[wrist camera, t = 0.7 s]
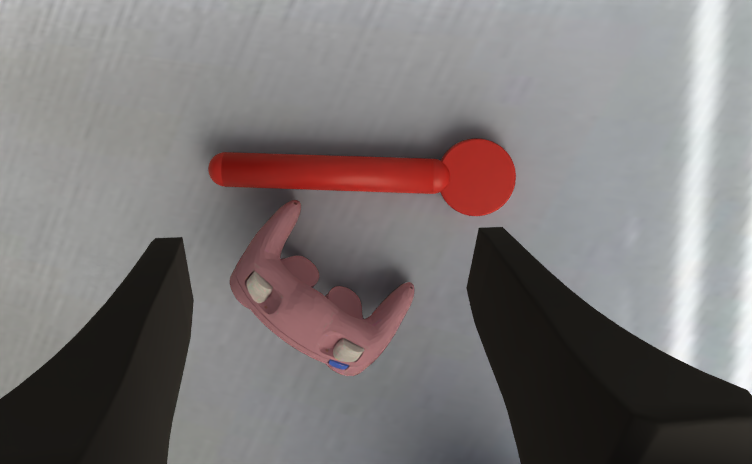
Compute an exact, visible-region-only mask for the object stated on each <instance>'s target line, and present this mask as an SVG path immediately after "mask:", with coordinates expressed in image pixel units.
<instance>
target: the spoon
mask: <svg viewBox="0 0 752 464" xmlns="http://www.w3.org/2000/svg"><path fill="white" fill-rule="evenodd" d="M208 171H209V175H210V177H211V179H212V180H213V181H214V182H215V183H216V184H218V185H220V186H225V187H250V188H279V189H308V190H337V191H366V192H395V193H424V194H435V193H439V192H441V194H442V196H443V198H444V200H445V201H446V202H447V204H448V205H449V206H451V207H452V208H453V209H454V210H456V211H458V212H460V213H462V214H465V215H469V216H482V215H487V214H490V213H492V212H494V211H496V210H498V209H499V208H500V207H502V206H503V205H504V204H505V203H506V202H507V200H508V199H509V198H510V196H511V194H512V192H513V189H514V186H515V180H516V173H515V167H514V164H513V161H512V159H511V157H510V156H509V154H508V153H507V152H506V151H505V150H504V149H503V148H502V147H501V146H499V145H498V144H496V143H494V142H492V141H489V140H485V139H478V138H475V139H467V140H463V141H461V142H459V143H457V144H455V145H454V146H452V147H451V148H450V149H449V150H448V151H447V152H446V153H445V154H444V156H443V157H442V159H441V161H440V160H438V159H425V158H393V157H362V156H330V155H298V154H267V153H235V152H222V153H219V154H217V155H215V156H214V157H213V158H212V159H211V161H210V163H209V167H208Z"/></svg>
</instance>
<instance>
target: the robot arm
mask: <svg viewBox="0 0 752 464" xmlns="http://www.w3.org/2000/svg"><path fill="white" fill-rule="evenodd" d="M467 292H468V297H469V301H470V306H471V310H472V314H473V318H474V322H475V325H476V328H477V331H478V333H479V336H480V339H481V341H482V344H483V347H484V349H485V352H486V355H487V357H488V360H489V362H490V365H491V368H492V370H493V373H494V375H495V378H496V381H497V383H498V386H499V388H500V391H501V394H502V396H503V399H504V402H505V405H506V408H507V411H508V415H509V419H510V423H511V426H512V430H513V434H514V438H515V442H516V445H517V449H518V454H519V458H520V462H521V464H752V395H751V394H750V393H749V391H748V390H746V389H743V388H741V387H738V386H736V385H734V384H731V383H729V382H726V381H724V380H722V379H719V378H717V377H714V376H712V375H710V374H707V373H705V372H703V371H700V370H698V369H696V368H694V367H692V366H690V365H688V364H686V363H684V362H682V361H680V360H678V359H676V358H674V357H672V356H670V355H668V354H666V353H664V352H662V351H661V350H659V349H657V348H655V347H653V346H652V345H650V344H648V343H647V342H645V341H643V340H641V339H640V338H638V337H636V336H635V335H633V334H631V333H630V332H628V331H626V330H625V329H623V328H622V327H620V326H619V325H617V324H616V323H614V322H613V321H611V320H610V319H609V318H607V317H606V316H604V315H603V314H601V313H600V312H598V311H597V310H596V309H594V308H593V307H592V306H590V305H589V304H588V303H586V302H585V301H584V300H583V299H581V298H580V297H579V296H578V295H576V294H575V293H574V292H573V291H571V290H570V289H569V288H568V287H567V286H565V285H564V284H563V283H562V282H561V281H560V280H558V279H557V278H556V277H555V276H554V275H553V274H552V273H551V272H549V271H548V270H547V269H546V268H545V267H544V266H543V265H542V264H541V263H540V262H539V261H538V260H536V259H535V258H534V257H533V256H532V255H531V254H530V253H529V252H528V251H527V250H526V249H525V248H524V247H523V246H522V245H521V244H520V243H519V242H518V241H517V240H516V239H515V238H514V237H512V236H511V235H510V234H509V233H508V232H507V231H506V230H505V229H504V228H503V227H490V228H479V230H478V235H477V240H476V244H475V249H474V254H473V259H472V264H471V269H470V274H469V278H468V283H467ZM193 301H194V300H193V294H192V289H191V283H190V277H189V272H188V266H187V260H186V255H185V249H184V244H183V238H182V237H177V238H155V239H154V240H153V241H152V242H151V243H150V245H149V246H148V248H147V249H146V251H145V252H144V253H143V255H142V256H141V258H140V259H139V260H138V262H137V263H136V265H135V266H134V267H133V269H132V270H131V271H130V273H129V274H128V275H127V277H126V278H125V279H124V281H123V282H122V283H121V284H120V286H119V287H118V288H117V289H116V291H115V292H114V293H113V294H112V296H111V297H110V298H109V299H108V300H107V302H106V303H105V304H104V305H103V306H102V307H101V308H100V310H99V311H98V312H97V313H96V314H95V315H94V316H93V317H92V319H91V320H90V321H89V322H88V323H87V324H86V325H85V326H84V327H83V328H82V329H81V330H80V331H79V332H78V333H77V335H76V336H75V337H74V338H73V339H72V340H71V341H69V342H68V343H67V344H66V345H65V346H64V347H63V348H62V349H61V350H60V351H59V352H58V353H57V354H56V355H55V356H54V357H52V358H51V359H50V360H49V361H48V362H47V363H45V364H44V365H43V366H42V367H41V368H40V369H38V370H37V371H36V372H35V373H33V374H32V375H31V376H30V377H29V378H27V379H26V380H25V381H24V382H22V383H21V384H20V385H19V386H17V387H16V388H15V389H13V390H12V391H11V392H9V393H8V394H7V395H5V396H4V397H2V398H1V399H0V464H167V457H168V448H169V439H170V433H171V427H172V421H173V416H174V412H175V407H176V402H177V398H178V393H179V389H180V384H181V380H182V375H183V371H184V366H185V361H186V357H187V352H188V347H189V342H190V337H191V326H192V314H193Z"/></svg>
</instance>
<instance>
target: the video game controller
mask: <svg viewBox="0 0 752 464" xmlns="http://www.w3.org/2000/svg"><path fill="white" fill-rule="evenodd" d="M300 210H301V204H300V202H299V201H297V200H292V201H290V202H288V203H286V204H285V205H283V206H282V207H281V208H279V209H278V210H277V212H276V213H275V214H274V215H273V216H272V217H271V218H270V219H269V220H268V221H267V222H266V224H265V225H264V226H263V227H262V228H261V229H260V230H259V231H258V232H257V234H256V235H255V237H254V238H253V239H252V241H251V242H250V244H249V246H248V247H247V249H246V250H245V252H244V253H243V255H242V256H241V258H240V260H239V262H238V264H237V265H236V267H235V269H234V271H233V273H232V275H231V277H230V286H231V290H232V292H233V294H234V296H235V297H236V299H237V300H238V301H239V302H240V303H241V304H242V305H243V306H245V307H247V308H248V309H250V310H251V311H252V312H253V313H254V314H255V315H256V316H257V318H258V319H259V320H260V321H261V322H262V323H263V324H264V325H265V326H266V327H268V328H269V329H270V330H271V331H272V332H273V333H275V334H276V335H277V336H278V337H280V338H281V339H282V340H284V341H285V342H286V343H288V344H289V345H291V346H292V347H294V348H296V349H297V350H299V351H300V352H302V353H304V354H306V355H308V356H310V357H311V358H313V359H316V360H318V361H320V362H323V363H325V364H326V365H327V366H328V367H329V368H330V369H332V370H333V371H335V372H337V373H339V374H342V375H346V376H354V375H358V374H359V373H361V372H362V371H363V370H364V369H366V368H367V367H368V366H369V365H370V364H372V363H373V362H374V361H375V360H376V359H377V358H378V357H379V355H380V354H381V353H382V352H383V351H384V349H385V348H386V347H387V346H388V344H389V343H390V341H391V339H392V338H393V336H394V335H395V333H396V331H397V329H398V327H399V325H400V324H401V322H402V320H403V318H404V316H405V314H406V313H407V311H408V309H409V307H410V305H411V303H412V300H413V296H414V285H413V284H412V283H410V282H407V283H404V284H402V285H400V286H399V287H398V288H397V289H396V290H394V291H393V292H392V293H391V294H390V295H389V296H388V297H387V298H386V299H385V300H384V301H383V302H382V303H381V304H380V305H379V306H378V307H377V308H376V310H375V311H374V312H373V313H372V315H371V316H370V317H368V318H366V319H364V318H363V315H362V306H361V301H360V299H359V297H358V296H357V295H356V294H355V293H354V292H353V291H352V290H350V289H348V288H346V287H342V286H336V287H334V288H332V289H331V290H330V291H329V293H328V294H327V295H326V296H324V295H323V294H322V293H320V292H318V291H317V290H315V289H313V287H314V285H315V284H316V283H317V282H318V280H319V272H318V270H317V268H316V266H315V265H314V264H313V263H312V262H311V261H310V260H308V259H307V258H305V257H303V256H291V257H288V258H285V259H280V255H281V251H282V249H283V246H284V244H285V242H286V240H287V238H288V236H289V234H290V233H291V231H292V229H293V227H294V226H295V224H296V222H297V220H298V217H299V214H300Z"/></svg>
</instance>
